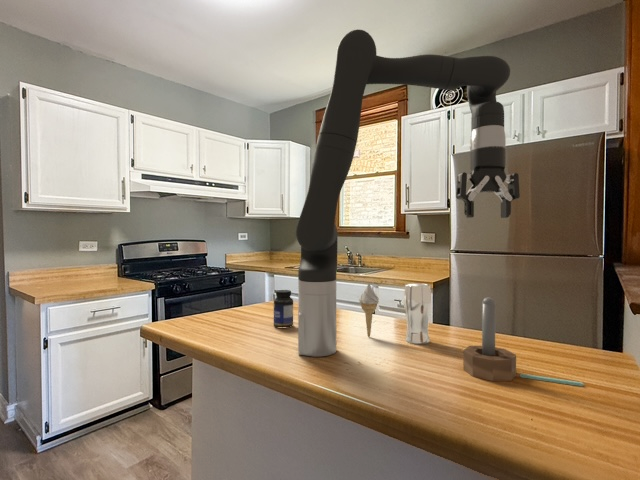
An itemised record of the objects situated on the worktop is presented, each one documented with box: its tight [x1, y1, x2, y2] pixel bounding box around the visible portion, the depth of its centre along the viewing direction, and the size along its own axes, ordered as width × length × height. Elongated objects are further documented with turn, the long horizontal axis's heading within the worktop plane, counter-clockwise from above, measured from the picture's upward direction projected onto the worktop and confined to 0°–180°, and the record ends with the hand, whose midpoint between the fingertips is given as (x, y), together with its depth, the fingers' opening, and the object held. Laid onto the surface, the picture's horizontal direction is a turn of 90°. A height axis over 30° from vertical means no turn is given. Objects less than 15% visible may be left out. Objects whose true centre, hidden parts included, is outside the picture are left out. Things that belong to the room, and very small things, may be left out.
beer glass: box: [403, 282, 432, 345], centre depth 92 cm, size 7×7×15 cm
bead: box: [462, 345, 517, 382], centre depth 71 cm, size 9×9×4 cm
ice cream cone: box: [358, 283, 380, 338], centre depth 96 cm, size 6×6×15 cm
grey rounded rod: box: [481, 296, 496, 357], centre depth 71 cm, size 2×2×15 cm
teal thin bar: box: [519, 373, 584, 387], centre depth 66 cm, size 10×1×1 cm, turn 64°
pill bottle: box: [273, 289, 294, 328], centre depth 109 cm, size 6×6×11 cm
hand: (487, 217), depth 82 cm, fingers open, 8 cm apart
